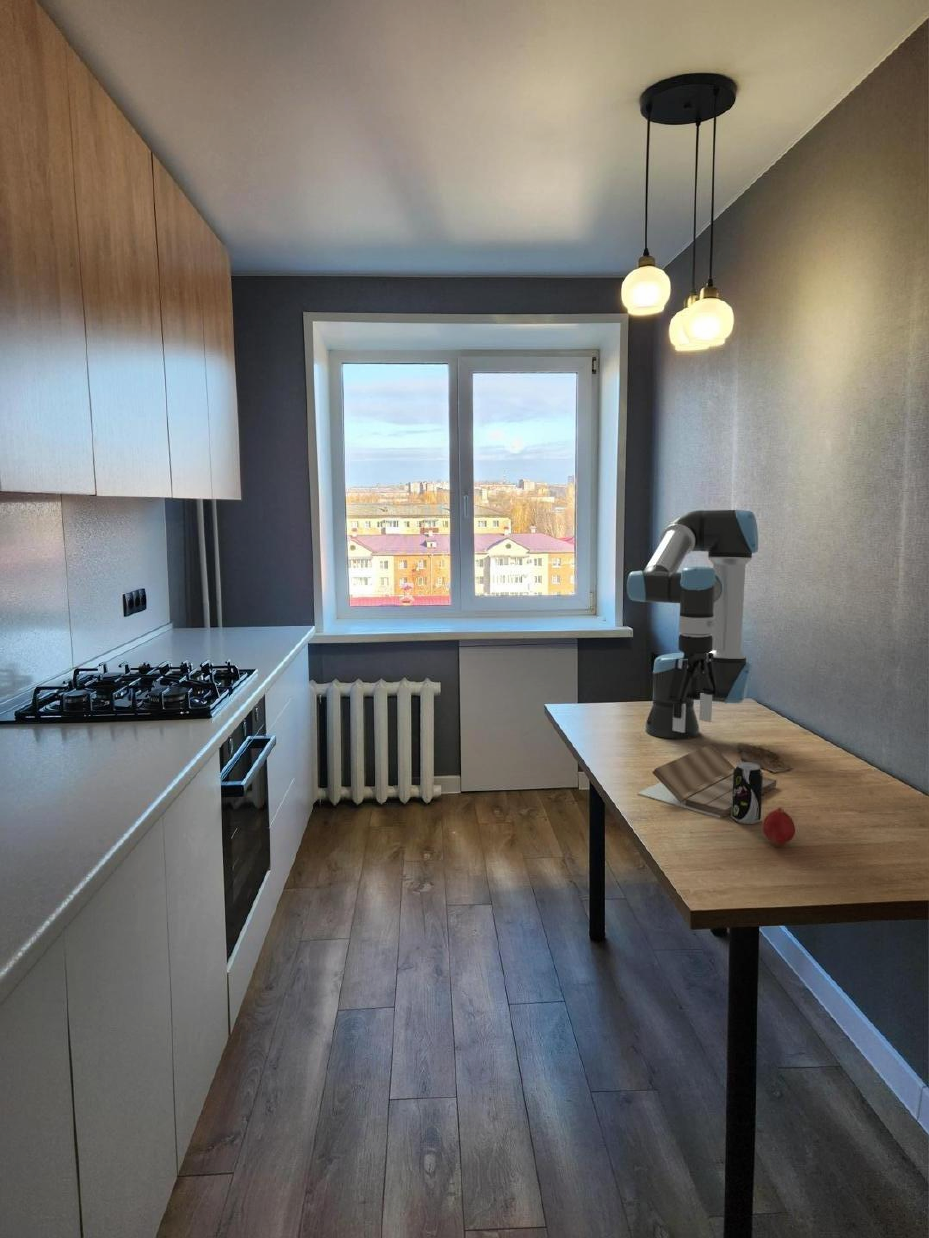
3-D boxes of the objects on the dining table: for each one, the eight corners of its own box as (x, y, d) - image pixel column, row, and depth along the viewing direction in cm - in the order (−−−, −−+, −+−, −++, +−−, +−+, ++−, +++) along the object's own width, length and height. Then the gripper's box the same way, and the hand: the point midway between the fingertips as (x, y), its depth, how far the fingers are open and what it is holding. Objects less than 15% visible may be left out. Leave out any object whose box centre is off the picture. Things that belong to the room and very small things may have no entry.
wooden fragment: (798, 775, 190) (798, 771, 190) (752, 774, 190) (753, 770, 190) (764, 745, 215) (764, 741, 215) (724, 744, 216) (724, 740, 216)
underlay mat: (695, 766, 195) (695, 765, 195) (773, 785, 181) (773, 784, 181) (637, 794, 176) (637, 792, 176) (719, 817, 162) (720, 816, 162)
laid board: (739, 777, 187) (739, 770, 186) (776, 786, 180) (776, 779, 180) (685, 805, 168) (685, 798, 168) (724, 816, 162) (725, 809, 162)
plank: (707, 747, 192) (710, 743, 191) (734, 774, 187) (738, 770, 187) (652, 772, 174) (655, 768, 173) (681, 803, 169) (684, 798, 168)
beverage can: (725, 818, 162) (727, 763, 160) (744, 813, 165) (746, 758, 163) (747, 827, 157) (750, 771, 156) (766, 822, 160) (769, 766, 158)
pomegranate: (756, 840, 151) (758, 801, 150) (784, 839, 151) (786, 800, 150) (770, 853, 145) (772, 812, 144) (799, 852, 146) (802, 811, 145)
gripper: (684, 642, 166) (681, 739, 169) (735, 630, 183) (731, 719, 186) (653, 638, 171) (650, 733, 174) (705, 627, 188) (702, 713, 191)
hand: (692, 725), depth 180 cm, fingers open, 12 cm apart
